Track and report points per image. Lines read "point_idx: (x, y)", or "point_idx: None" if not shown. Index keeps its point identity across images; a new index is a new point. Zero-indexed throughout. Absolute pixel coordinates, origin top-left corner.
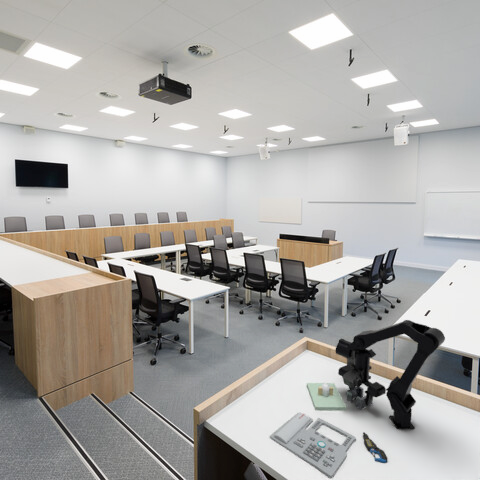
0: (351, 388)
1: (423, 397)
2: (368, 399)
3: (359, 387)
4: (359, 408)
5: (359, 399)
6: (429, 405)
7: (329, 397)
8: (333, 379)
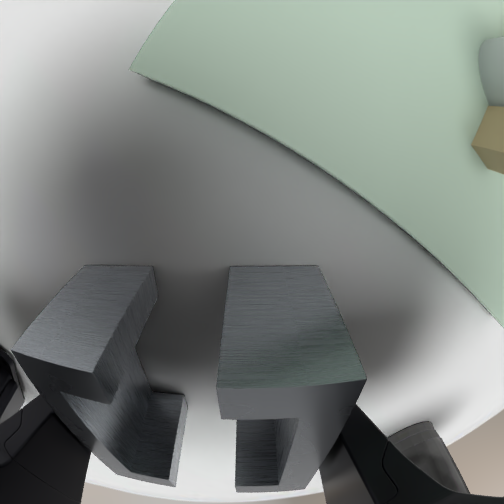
0: (338, 446)
1: (137, 489)
2: (21, 409)
3: (278, 487)
4: (96, 267)
5: (35, 351)
6: (96, 472)
7: (459, 56)
8: (499, 351)
